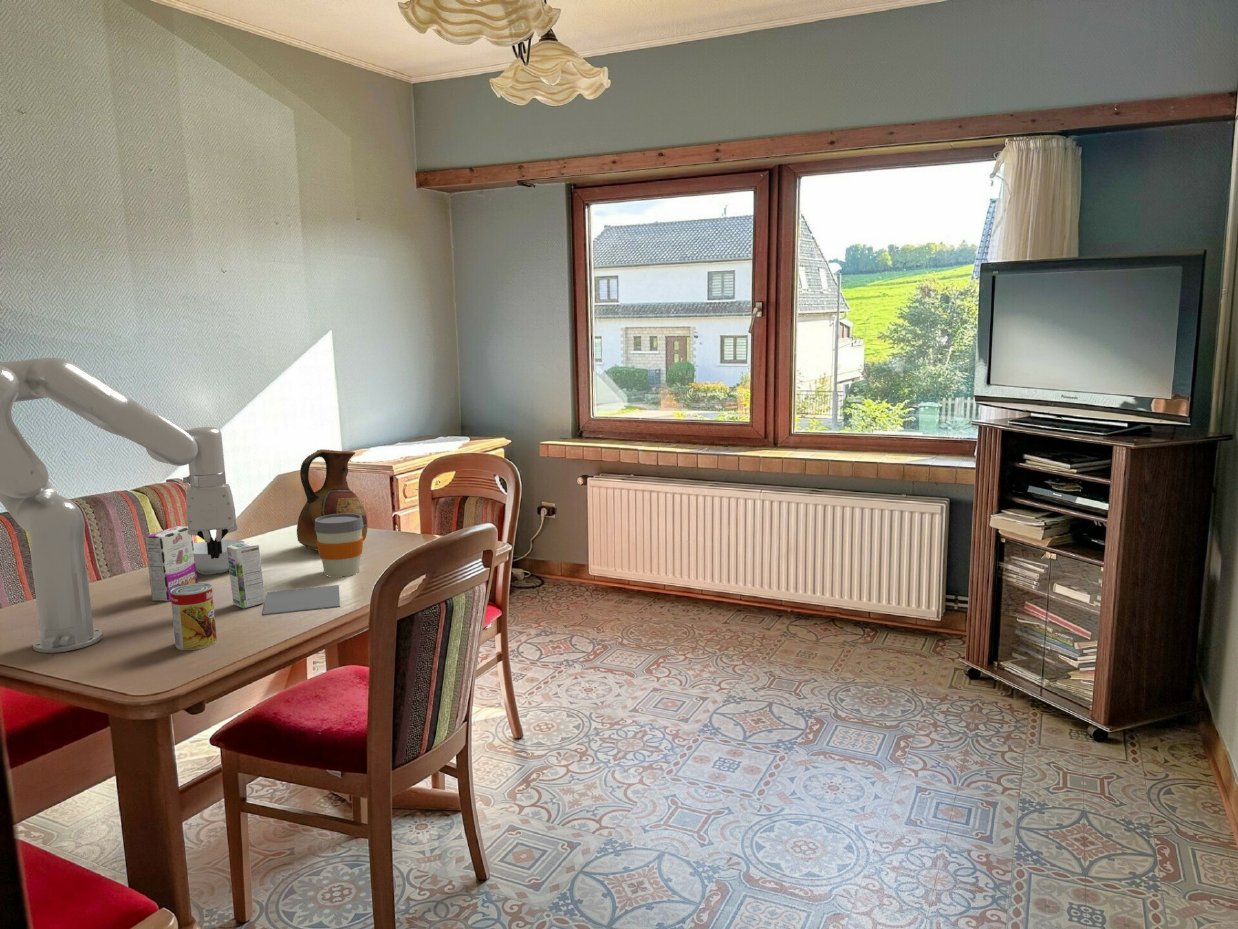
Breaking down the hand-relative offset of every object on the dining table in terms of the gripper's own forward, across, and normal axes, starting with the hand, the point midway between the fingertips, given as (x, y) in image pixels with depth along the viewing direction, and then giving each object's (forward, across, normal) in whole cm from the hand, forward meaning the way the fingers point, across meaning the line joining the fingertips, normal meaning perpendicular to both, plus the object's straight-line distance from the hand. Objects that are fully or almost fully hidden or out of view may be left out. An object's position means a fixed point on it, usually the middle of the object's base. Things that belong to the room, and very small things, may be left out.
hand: (215, 557), depth 208 cm
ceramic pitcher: (+13, +26, +50) cm, 58 cm away
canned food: (+12, -2, -25) cm, 28 cm away
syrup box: (+12, +6, 0) cm, 14 cm away
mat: (+12, +18, -1) cm, 22 cm away
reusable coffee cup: (+13, +28, +21) cm, 37 cm away
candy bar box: (+12, -12, +15) cm, 23 cm away
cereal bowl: (+13, -5, +36) cm, 38 cm away
